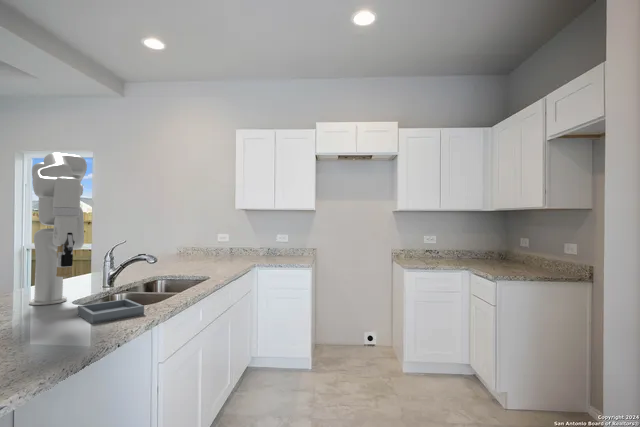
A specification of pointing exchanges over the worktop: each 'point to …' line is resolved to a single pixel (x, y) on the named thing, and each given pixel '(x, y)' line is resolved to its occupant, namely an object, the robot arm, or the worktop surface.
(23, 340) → the worktop surface
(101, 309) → the tray
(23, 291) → the worktop surface
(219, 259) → the worktop surface
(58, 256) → the sprinkles bottle
